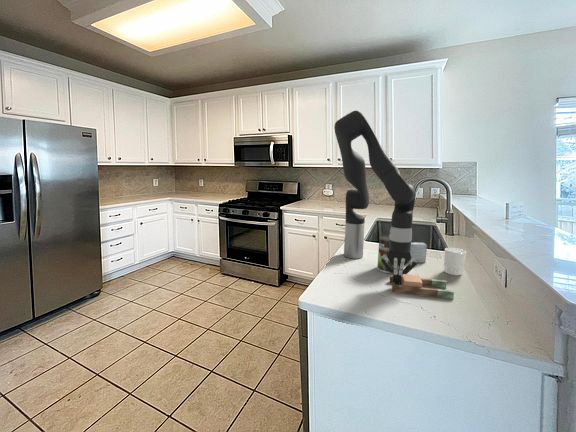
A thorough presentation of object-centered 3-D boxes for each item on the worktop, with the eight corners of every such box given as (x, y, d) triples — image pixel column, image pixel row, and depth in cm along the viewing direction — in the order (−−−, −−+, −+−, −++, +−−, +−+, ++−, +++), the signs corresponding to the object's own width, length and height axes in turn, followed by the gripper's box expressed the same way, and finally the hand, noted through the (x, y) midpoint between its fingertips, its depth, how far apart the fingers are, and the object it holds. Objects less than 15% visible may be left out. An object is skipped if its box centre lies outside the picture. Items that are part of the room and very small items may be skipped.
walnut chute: (391, 292, 104) (392, 285, 103) (389, 281, 113) (389, 275, 113) (453, 299, 99) (454, 292, 98) (445, 286, 108) (446, 280, 108)
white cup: (438, 269, 126) (440, 247, 124) (455, 269, 127) (458, 247, 125) (450, 276, 118) (452, 253, 117) (468, 275, 119) (470, 252, 117)
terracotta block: (403, 291, 104) (404, 280, 103) (401, 283, 111) (402, 273, 110) (421, 293, 103) (422, 282, 102) (418, 285, 109) (419, 275, 108)
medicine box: (422, 259, 139) (423, 242, 138) (425, 262, 135) (427, 245, 133) (405, 259, 140) (406, 242, 138) (408, 262, 135) (409, 244, 134)
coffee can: (388, 275, 120) (390, 242, 117) (372, 267, 129) (373, 236, 126) (407, 271, 124) (409, 240, 121) (390, 264, 133) (392, 234, 130)
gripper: (381, 239, 103) (378, 285, 106) (421, 242, 99) (417, 289, 102) (380, 235, 110) (377, 277, 113) (418, 237, 106) (414, 281, 109)
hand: (396, 283), depth 107 cm, fingers closed
